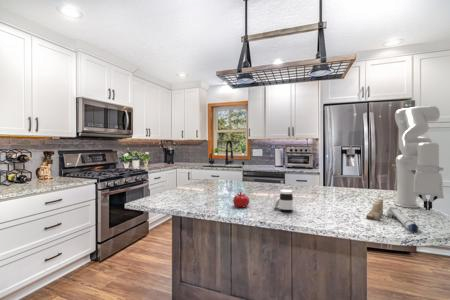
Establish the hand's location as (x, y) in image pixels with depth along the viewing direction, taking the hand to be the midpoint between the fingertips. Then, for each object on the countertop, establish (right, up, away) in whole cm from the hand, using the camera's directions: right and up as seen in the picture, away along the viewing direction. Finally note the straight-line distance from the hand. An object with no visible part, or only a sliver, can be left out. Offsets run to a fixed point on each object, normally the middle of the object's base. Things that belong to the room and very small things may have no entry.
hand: (427, 209), depth 109 cm
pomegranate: (-82, -8, +41) cm, 92 cm away
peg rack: (-13, -8, +18) cm, 24 cm away
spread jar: (-58, -8, +32) cm, 67 cm away
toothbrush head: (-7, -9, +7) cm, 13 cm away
